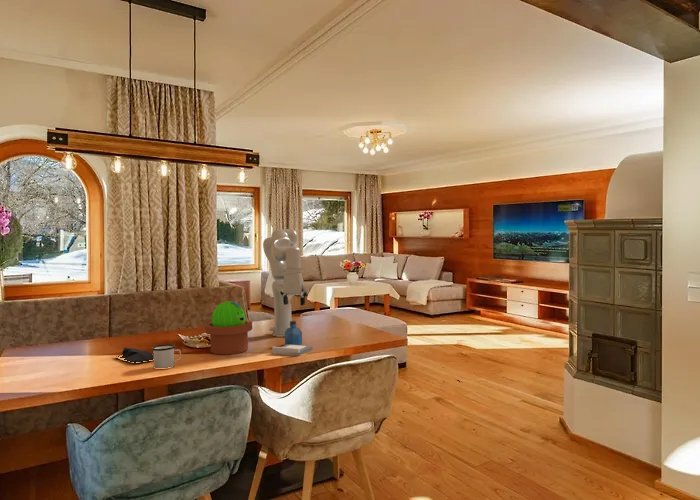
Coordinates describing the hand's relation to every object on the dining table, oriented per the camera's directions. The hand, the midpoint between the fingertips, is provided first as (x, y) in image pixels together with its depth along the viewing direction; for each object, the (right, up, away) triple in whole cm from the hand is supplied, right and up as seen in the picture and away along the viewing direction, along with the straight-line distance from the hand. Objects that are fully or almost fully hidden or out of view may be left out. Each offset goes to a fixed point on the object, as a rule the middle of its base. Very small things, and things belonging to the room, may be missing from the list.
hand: (294, 304), depth 242 cm
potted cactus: (-31, -22, -10) cm, 39 cm away
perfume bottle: (0, -21, 0) cm, 21 cm away
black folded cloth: (-70, -23, -22) cm, 77 cm away
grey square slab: (+1, -21, -14) cm, 25 cm away
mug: (-51, -23, -37) cm, 67 cm away
